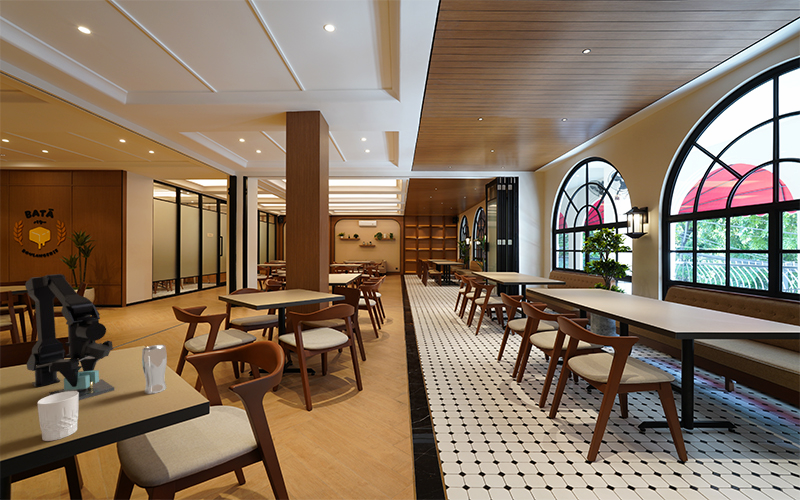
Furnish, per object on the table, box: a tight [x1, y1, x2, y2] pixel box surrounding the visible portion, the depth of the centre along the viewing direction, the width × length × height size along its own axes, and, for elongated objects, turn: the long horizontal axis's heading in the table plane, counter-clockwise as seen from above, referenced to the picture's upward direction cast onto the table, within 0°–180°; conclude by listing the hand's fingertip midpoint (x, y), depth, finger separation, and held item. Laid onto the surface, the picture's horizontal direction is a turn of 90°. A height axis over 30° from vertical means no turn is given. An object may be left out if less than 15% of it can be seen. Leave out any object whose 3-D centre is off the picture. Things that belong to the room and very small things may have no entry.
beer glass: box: [141, 344, 168, 395], centre depth 120 cm, size 7×7×15 cm
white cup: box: [36, 391, 80, 442], centre depth 93 cm, size 8×8×10 cm
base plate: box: [48, 378, 115, 401], centre depth 120 cm, size 14×14×5 cm
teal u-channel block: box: [63, 369, 100, 390], centre depth 120 cm, size 6×6×4 cm
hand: (81, 382), depth 120 cm, fingers closed on teal u-channel block, 6 cm apart
